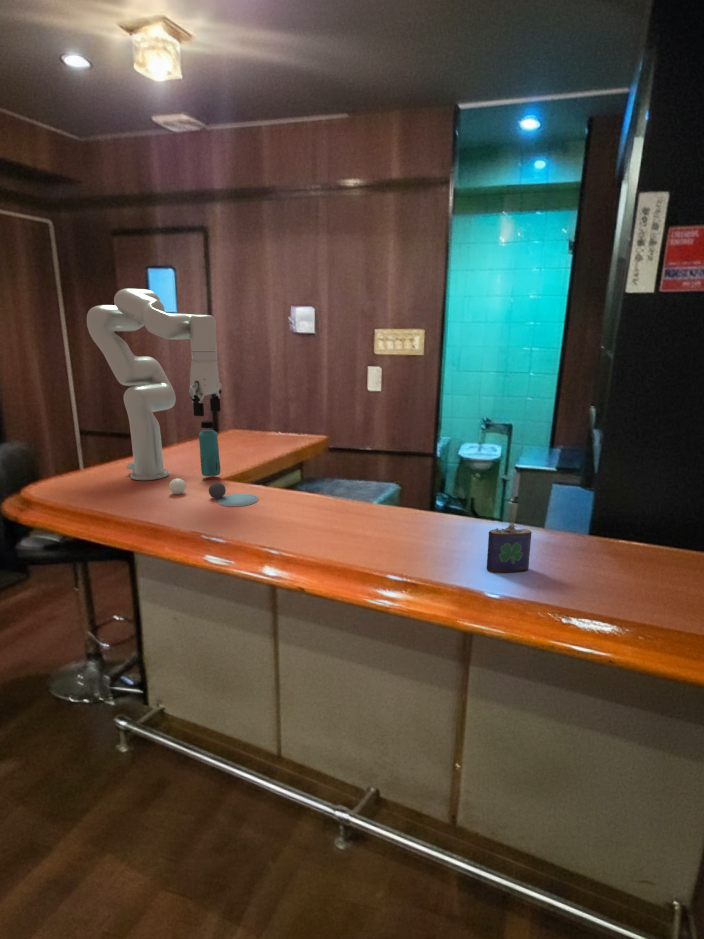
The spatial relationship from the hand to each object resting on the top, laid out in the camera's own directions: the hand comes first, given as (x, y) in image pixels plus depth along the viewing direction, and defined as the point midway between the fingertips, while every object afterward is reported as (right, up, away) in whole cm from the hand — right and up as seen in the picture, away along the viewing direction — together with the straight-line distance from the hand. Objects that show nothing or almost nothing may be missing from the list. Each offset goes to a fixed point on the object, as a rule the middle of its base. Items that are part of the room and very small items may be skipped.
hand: (207, 413), depth 166 cm
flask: (+78, -39, -51) cm, 101 cm away
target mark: (+11, -27, -5) cm, 29 cm away
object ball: (+4, -24, -4) cm, 24 cm away
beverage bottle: (-4, -21, +19) cm, 28 cm away
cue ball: (-9, -23, 0) cm, 25 cm away
